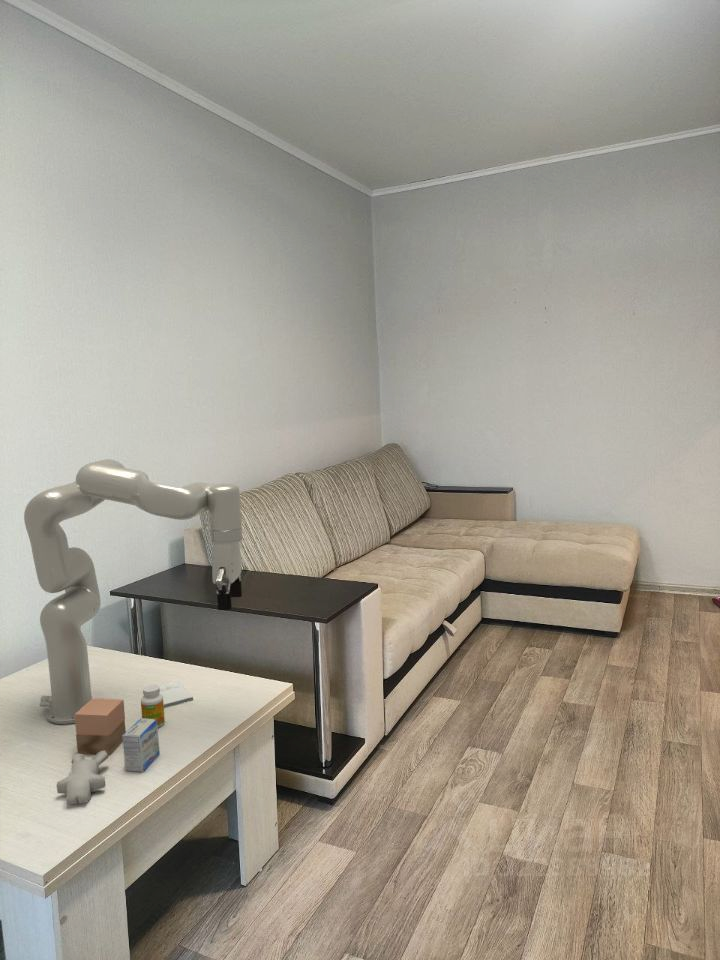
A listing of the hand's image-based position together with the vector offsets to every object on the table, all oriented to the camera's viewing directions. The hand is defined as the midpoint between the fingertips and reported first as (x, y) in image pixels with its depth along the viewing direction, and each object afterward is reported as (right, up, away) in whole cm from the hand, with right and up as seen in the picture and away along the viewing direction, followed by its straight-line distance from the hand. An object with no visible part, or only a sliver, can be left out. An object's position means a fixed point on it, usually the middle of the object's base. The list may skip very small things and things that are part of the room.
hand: (230, 603), depth 170 cm
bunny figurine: (-27, -36, -22) cm, 50 cm away
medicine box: (-17, -34, -13) cm, 40 cm away
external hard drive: (-20, -30, +20) cm, 41 cm away
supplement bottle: (-20, -31, +4) cm, 37 cm away
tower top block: (-29, -28, -6) cm, 41 cm away
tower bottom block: (-29, -33, -6) cm, 45 cm away
